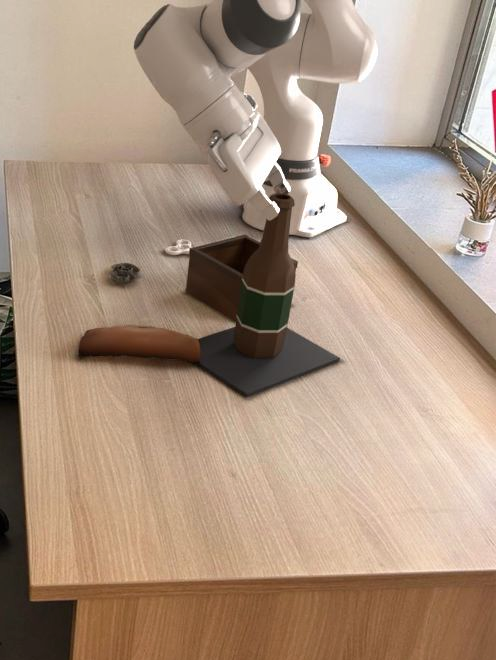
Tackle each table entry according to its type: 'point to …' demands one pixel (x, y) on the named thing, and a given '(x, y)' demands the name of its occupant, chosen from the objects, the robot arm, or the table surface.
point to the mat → (260, 362)
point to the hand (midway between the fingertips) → (280, 205)
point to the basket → (220, 272)
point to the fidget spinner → (179, 247)
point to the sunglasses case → (139, 343)
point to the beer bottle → (267, 288)
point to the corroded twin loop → (123, 273)
